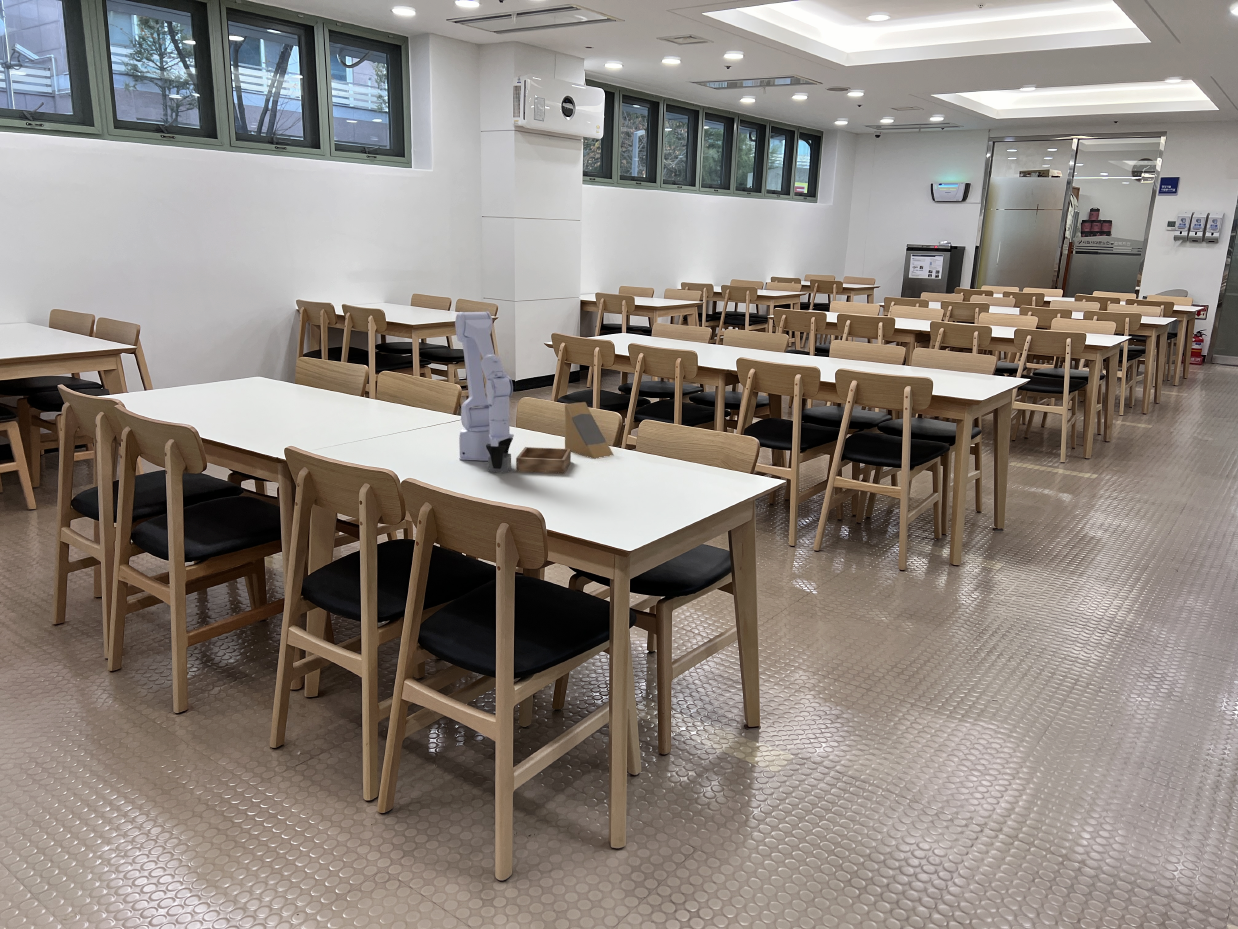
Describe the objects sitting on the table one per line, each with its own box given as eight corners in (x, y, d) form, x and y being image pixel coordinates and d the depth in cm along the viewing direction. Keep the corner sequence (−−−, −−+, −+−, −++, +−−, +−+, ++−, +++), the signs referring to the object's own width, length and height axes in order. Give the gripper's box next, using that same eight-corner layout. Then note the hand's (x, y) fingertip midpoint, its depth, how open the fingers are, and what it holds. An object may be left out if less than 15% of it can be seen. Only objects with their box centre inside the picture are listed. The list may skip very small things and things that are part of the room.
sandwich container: (594, 459, 269) (595, 411, 265) (563, 450, 280) (564, 404, 276) (615, 455, 274) (616, 408, 271) (584, 446, 285) (585, 401, 282)
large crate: (516, 471, 252) (516, 458, 251) (525, 459, 265) (525, 447, 264) (564, 473, 251) (564, 460, 250) (570, 461, 264) (570, 448, 263)
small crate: (488, 472, 251) (488, 457, 250) (492, 467, 256) (492, 452, 255) (507, 473, 250) (507, 458, 249) (511, 468, 256) (511, 453, 255)
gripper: (508, 424, 242) (508, 472, 246) (518, 414, 256) (518, 459, 260) (483, 423, 243) (483, 470, 246) (494, 414, 257) (494, 458, 260)
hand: (499, 465), depth 253 cm, fingers open, 7 cm apart
